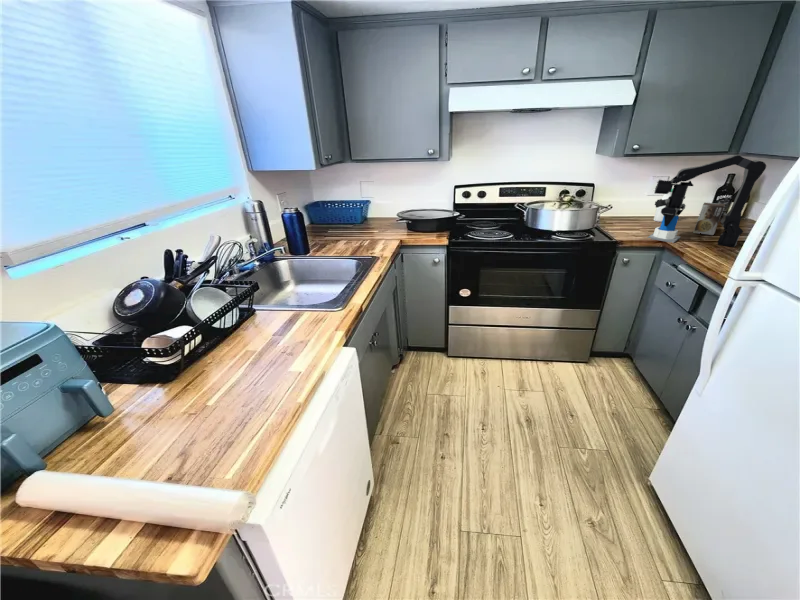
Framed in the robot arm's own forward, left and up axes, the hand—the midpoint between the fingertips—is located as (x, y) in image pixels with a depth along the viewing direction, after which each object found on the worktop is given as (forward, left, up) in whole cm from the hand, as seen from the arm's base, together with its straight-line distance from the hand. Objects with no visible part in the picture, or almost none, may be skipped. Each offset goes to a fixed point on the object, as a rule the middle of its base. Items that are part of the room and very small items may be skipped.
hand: (668, 224), depth 181 cm
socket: (0, 0, -8) cm, 8 cm away
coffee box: (-12, -27, -8) cm, 31 cm away
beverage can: (0, 0, -7) cm, 7 cm away
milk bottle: (+13, -43, -8) cm, 46 cm away
